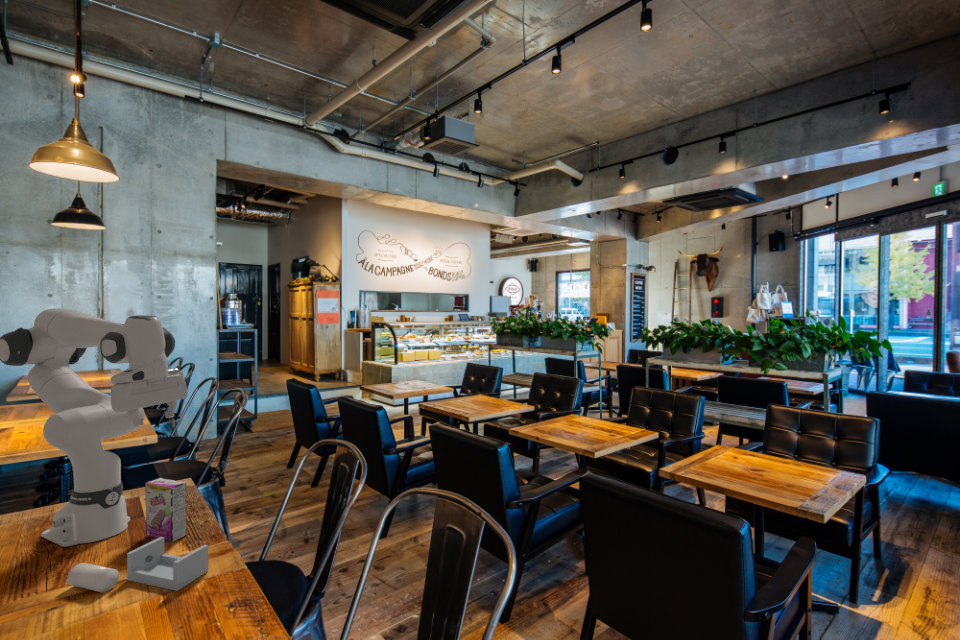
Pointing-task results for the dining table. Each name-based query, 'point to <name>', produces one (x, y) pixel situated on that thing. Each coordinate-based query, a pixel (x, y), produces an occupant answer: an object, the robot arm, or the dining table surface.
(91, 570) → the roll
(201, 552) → the holder
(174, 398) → the robot arm
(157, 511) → the candy bar box
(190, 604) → the dining table surface
